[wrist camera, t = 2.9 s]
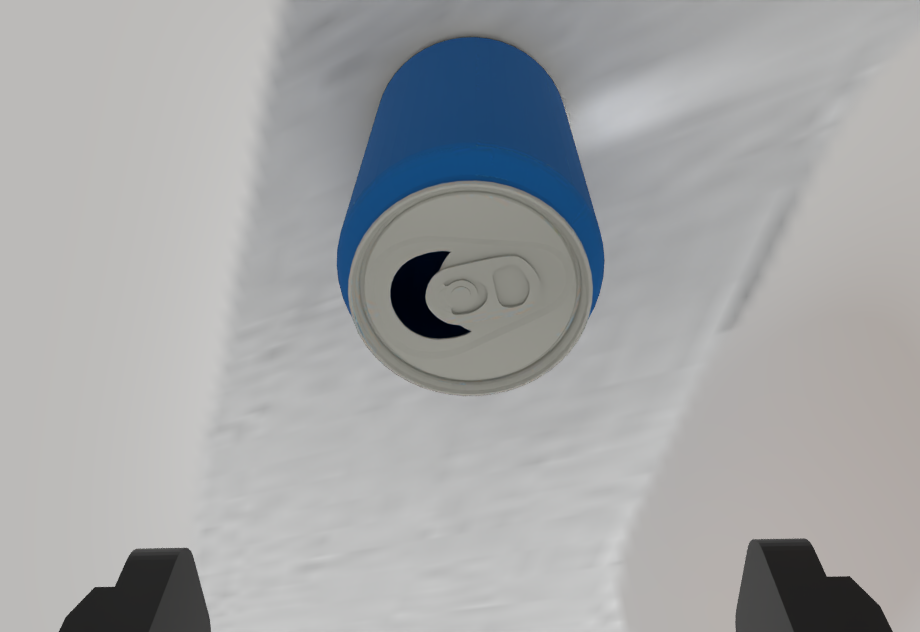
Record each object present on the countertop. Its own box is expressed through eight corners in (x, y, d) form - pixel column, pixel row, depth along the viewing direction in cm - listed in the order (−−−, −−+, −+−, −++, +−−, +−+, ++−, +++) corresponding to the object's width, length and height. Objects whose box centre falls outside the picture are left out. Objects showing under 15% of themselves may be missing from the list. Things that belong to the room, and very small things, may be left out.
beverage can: (355, 55, 29) (291, 198, 19) (547, 11, 28) (588, 135, 18) (404, 227, 32) (373, 430, 22) (578, 192, 32) (628, 385, 21)
